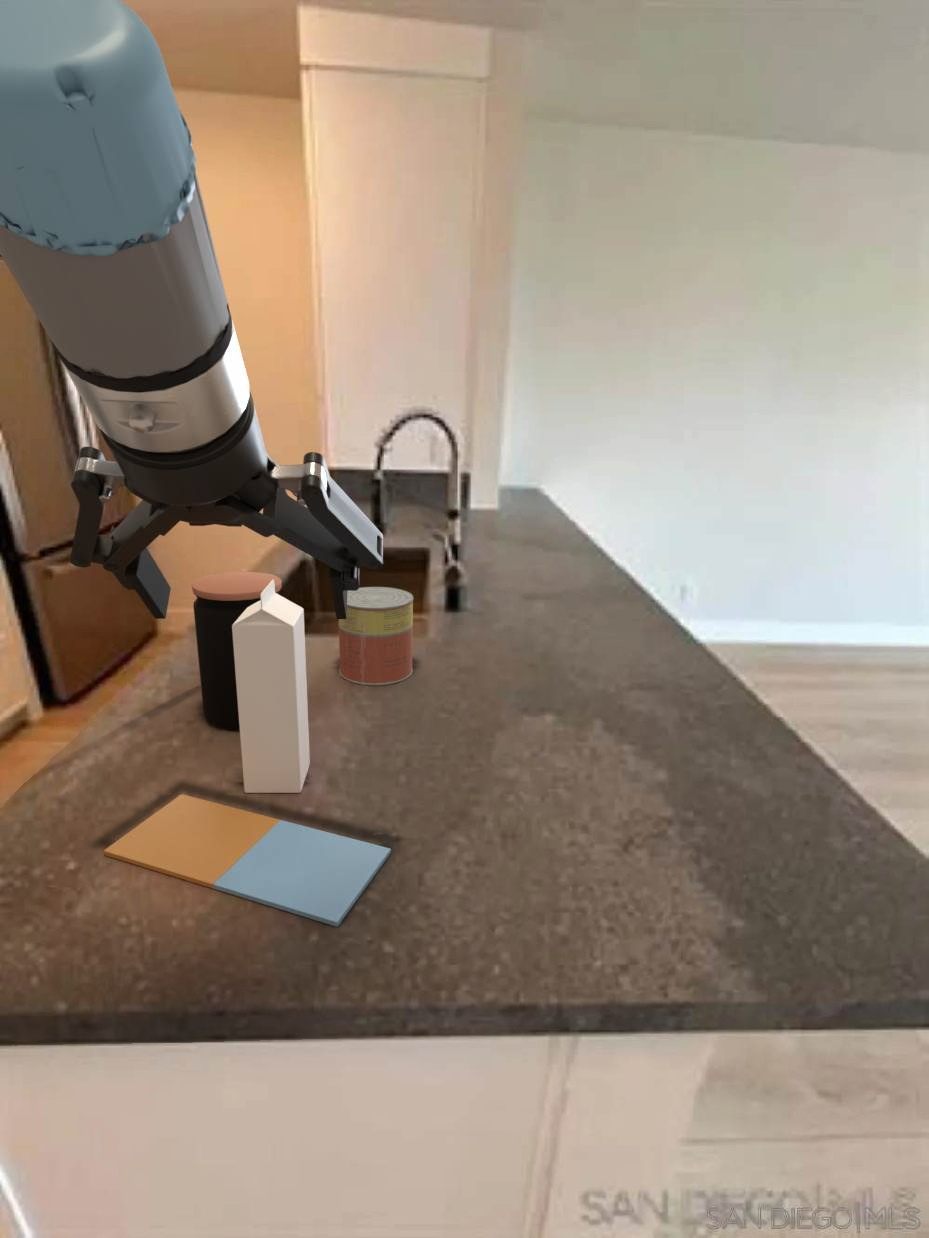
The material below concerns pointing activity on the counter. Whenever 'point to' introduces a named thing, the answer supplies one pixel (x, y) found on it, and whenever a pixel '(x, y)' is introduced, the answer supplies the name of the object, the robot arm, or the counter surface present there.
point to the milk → (272, 694)
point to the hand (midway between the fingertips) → (254, 603)
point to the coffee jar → (223, 637)
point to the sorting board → (254, 857)
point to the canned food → (376, 636)
